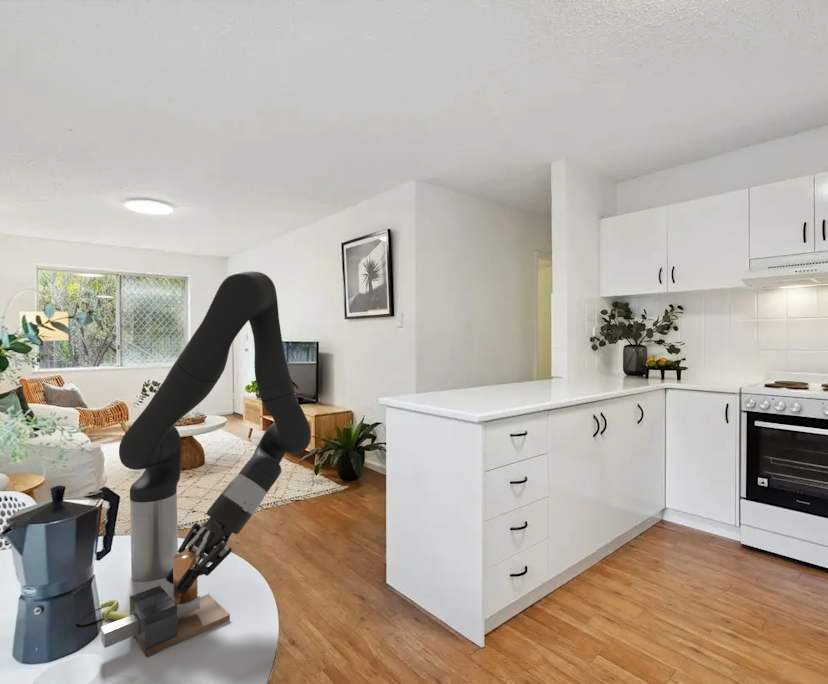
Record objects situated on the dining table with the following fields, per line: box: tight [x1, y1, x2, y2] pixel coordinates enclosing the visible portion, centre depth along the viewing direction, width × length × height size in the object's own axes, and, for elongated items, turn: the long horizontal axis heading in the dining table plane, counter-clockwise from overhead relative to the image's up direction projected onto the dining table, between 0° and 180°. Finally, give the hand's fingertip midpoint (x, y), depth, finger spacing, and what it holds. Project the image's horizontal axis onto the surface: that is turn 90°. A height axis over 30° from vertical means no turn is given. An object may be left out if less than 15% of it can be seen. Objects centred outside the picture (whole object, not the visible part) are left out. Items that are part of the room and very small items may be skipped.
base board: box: [133, 593, 231, 659], centre depth 85 cm, size 10×14×1 cm
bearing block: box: [129, 585, 177, 650], centre depth 82 cm, size 9×5×6 cm, turn 45°
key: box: [100, 599, 130, 621], centre depth 89 cm, size 7×12×2 cm, turn 87°
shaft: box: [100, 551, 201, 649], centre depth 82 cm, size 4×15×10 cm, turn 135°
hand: (174, 586), depth 84 cm, fingers open, 4 cm apart
